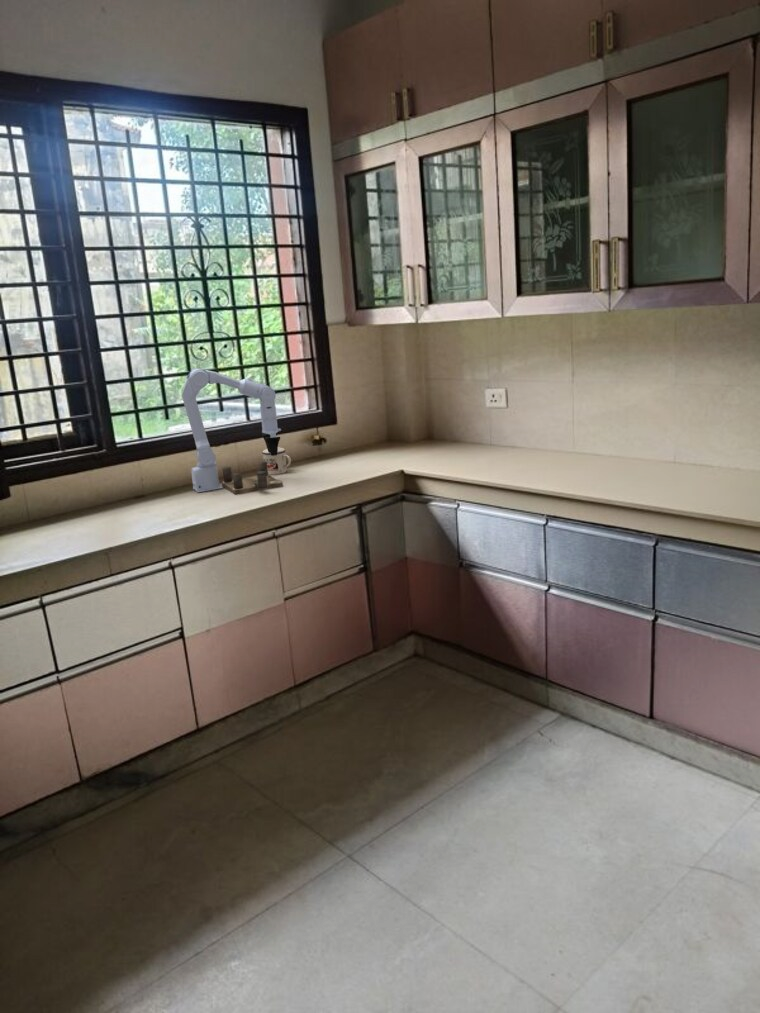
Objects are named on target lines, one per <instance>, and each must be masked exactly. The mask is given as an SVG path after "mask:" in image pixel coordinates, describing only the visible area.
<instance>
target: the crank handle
mask: <svg viewBox="0 0 760 1013" xmlns="http://www.w3.org/2000/svg"><path fill="white" fill-rule="evenodd" d="M256 476H257V478H258V479H254V485H255V486H257V487H259V488H260V489H263V488H267V487H268V485H267V477H266V471H260V472H259V471H257V472H256Z"/></svg>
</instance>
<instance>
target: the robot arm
mask: <svg viewBox="0 0 760 1013" xmlns="http://www.w3.org/2000/svg"><path fill="white" fill-rule="evenodd" d="M183 384H184V385H183V387H182V391H181V397H182V401H183V404H184V409H185V412H186V416H187V419H188V422H189V425H190V430H191V433H192V436H193V439H194V444H195V447H196V451H195V457H196V459H197V460H198V462H197V463H196V466H195V467H191V469H190V472H191V479H192V480H191V481H192V489H193V490H194V491H196V492H197V493H202V492H208V491H214V490H220V489H224V487H223V486H222V485H221V484H220V479H219V471H218V463H217V462H216V454H215V452H214V451H213V449H212V448H211V445H210V442H209V440H208V436H207V433H206V430H205V426H204V422H203V419H202V416H201V413H200V408H199V405H198V401H197V396H198V395H199V393H200V391H201V390H202V389H203V388H205V387H206V386H207V385H208V384H209V385H213V384H214V385H215V384H221V385H224V386H227V387H231V388H234V389H237V390H238V392H239V394H241V395H244V396H247V397H250V398H253V399H258V400H259V404H260V405H259V406H260V407H259V409H260V418H261V419H260V420H261V428H262V429H261V433H262V434H261V436H262V438H263V440H264V443H265V445H266V449H268V452H269V453H271V456H275V455H277V452H278V447H279V444H280V443H279V442H280V440H281V436H277V434H278V432H281V431H282V429H281V428H280V427H279V428H278V419H277V409H276V408H277V407H276V401H275V399H276V396H277V394H276V392H275V390H274V388H272V387H271V386H269V385H266V384H265V383H264V382H263V383H262V382H260V383H259V382H256V381H254V380H252V378H249V377H248V378H243V379H241V380H239V379H237V378H233V377H230V376H227V375H225V374H222V373H219V372H216V371H214V370H213V371H212V370H207V369H204V370H203V369H202V368H197V367H196V368H193V369H192V370H191V371H190V372H189V373H188V375H186V379H185V382H184V383H183Z"/></svg>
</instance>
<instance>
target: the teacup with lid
mask: <svg viewBox="0 0 760 1013" xmlns="http://www.w3.org/2000/svg"><path fill="white" fill-rule="evenodd" d="M262 456H263V461H266V462H267V469H268V475H270V476H275V475H283V474H285V473H287V470H288V467H289V466H291V463H292V459H291V457H290V456H289V455H288V454H286V449H285V448H284V447H280V446H278V452H277V455H275V456H271V453H269V452H268V449H267V448H266V449H264V450H263V451H262ZM286 458H287V459H286ZM287 460H288V462H287Z"/></svg>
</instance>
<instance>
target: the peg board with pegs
mask: <svg viewBox="0 0 760 1013" xmlns="http://www.w3.org/2000/svg"><path fill="white" fill-rule="evenodd" d="M257 465H258V472H260V471H266V477H267V485H268V487H267V488H263V489H260V488H259V487H257V486H255V485H254V479H258V478H257V475H256V476H250V477H244V478H242V477H243V475H242V474H243V473H242V472H234V473H232V467H231V466H225V467H222V469H221V470H222V478H223V481H221V486H222V487H223V488H225V489H226V490H228V491H229V492H231V493H232V494H233V495H243V494H247V493H252V492H259V491H265V490H270V489H271V490H272V489H277V488H282V487H284V484H283V483H284V482H283V481H282V480H279V479H277V478H275V477H273V476H272V475H268V469H267V462H266V461H264V460H263V461H259V462H258V464H257Z"/></svg>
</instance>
